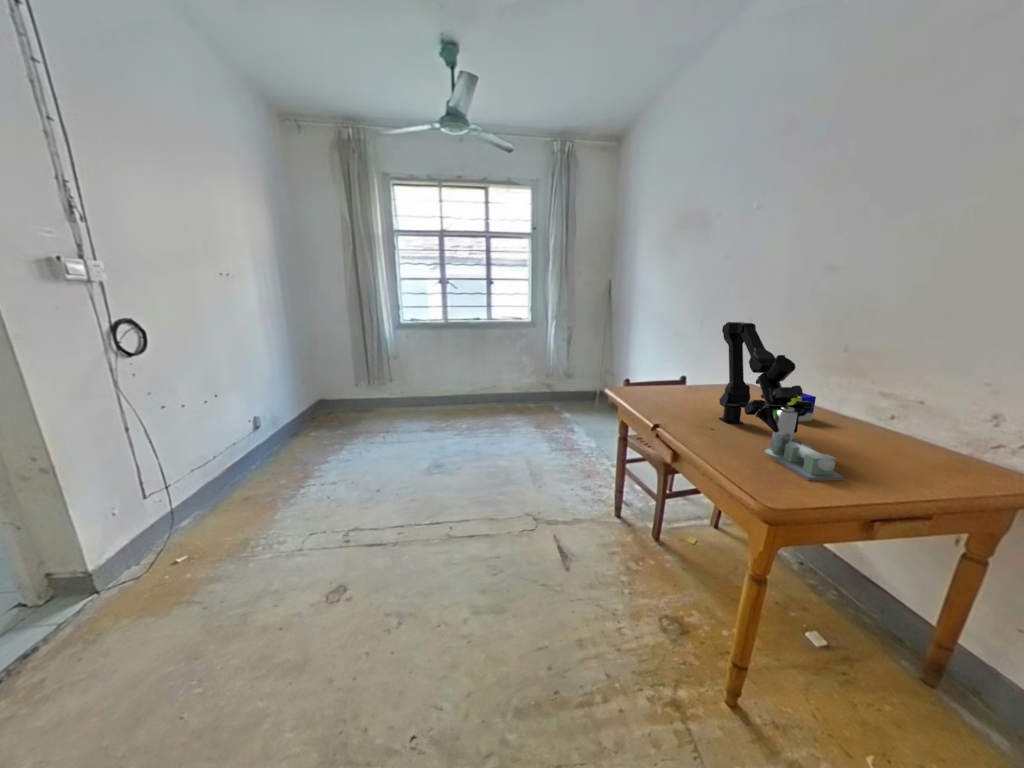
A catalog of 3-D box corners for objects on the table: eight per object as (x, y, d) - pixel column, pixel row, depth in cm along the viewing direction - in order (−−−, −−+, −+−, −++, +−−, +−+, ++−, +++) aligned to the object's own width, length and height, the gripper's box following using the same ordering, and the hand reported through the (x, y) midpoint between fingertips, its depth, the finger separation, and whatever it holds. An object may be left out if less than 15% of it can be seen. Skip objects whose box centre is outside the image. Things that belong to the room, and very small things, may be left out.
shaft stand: (773, 459, 126) (777, 438, 124) (805, 459, 126) (809, 438, 124) (807, 480, 112) (812, 456, 110) (843, 480, 112) (848, 456, 111)
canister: (769, 445, 134) (776, 404, 130) (789, 449, 131) (796, 407, 128) (770, 451, 129) (778, 409, 126) (791, 455, 127) (799, 411, 123)
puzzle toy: (811, 420, 165) (816, 396, 163) (790, 422, 163) (795, 397, 160) (790, 413, 174) (794, 390, 172) (770, 414, 172) (774, 391, 170)
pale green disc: (759, 449, 134) (759, 448, 134) (783, 449, 134) (783, 448, 134) (775, 459, 126) (775, 458, 126) (801, 458, 127) (801, 458, 126)
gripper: (754, 375, 129) (768, 419, 121) (815, 376, 128) (833, 421, 120) (738, 392, 138) (750, 435, 130) (795, 394, 138) (811, 437, 130)
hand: (786, 432), depth 127 cm, fingers closed on canister, 5 cm apart
